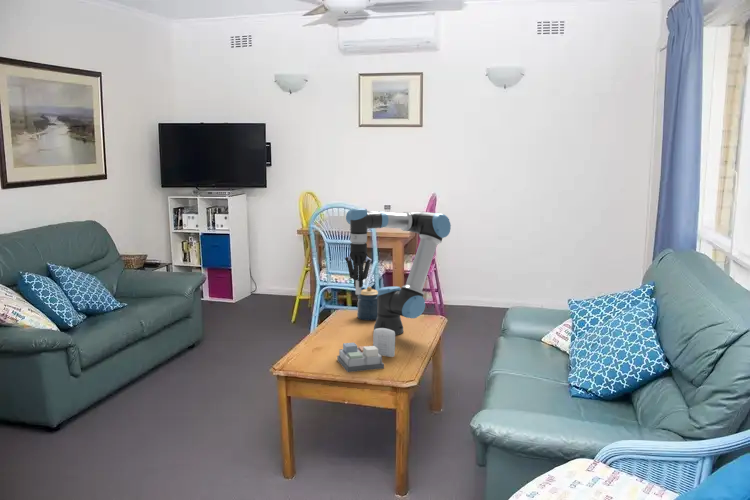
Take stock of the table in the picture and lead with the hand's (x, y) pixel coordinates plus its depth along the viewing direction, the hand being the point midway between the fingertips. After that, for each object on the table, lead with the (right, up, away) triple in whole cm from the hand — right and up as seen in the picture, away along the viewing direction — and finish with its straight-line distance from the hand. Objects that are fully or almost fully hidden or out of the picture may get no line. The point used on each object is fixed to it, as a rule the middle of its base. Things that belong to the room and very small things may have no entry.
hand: (358, 294), depth 283 cm
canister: (+4, -18, +61) cm, 64 cm away
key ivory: (+6, -25, -19) cm, 32 cm away
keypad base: (+1, -29, -16) cm, 33 cm away
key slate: (-3, -24, -15) cm, 29 cm away
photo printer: (+12, -27, -3) cm, 30 cm away
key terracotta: (+3, -26, -12) cm, 29 cm away
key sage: (-1, -27, -21) cm, 34 cm away
